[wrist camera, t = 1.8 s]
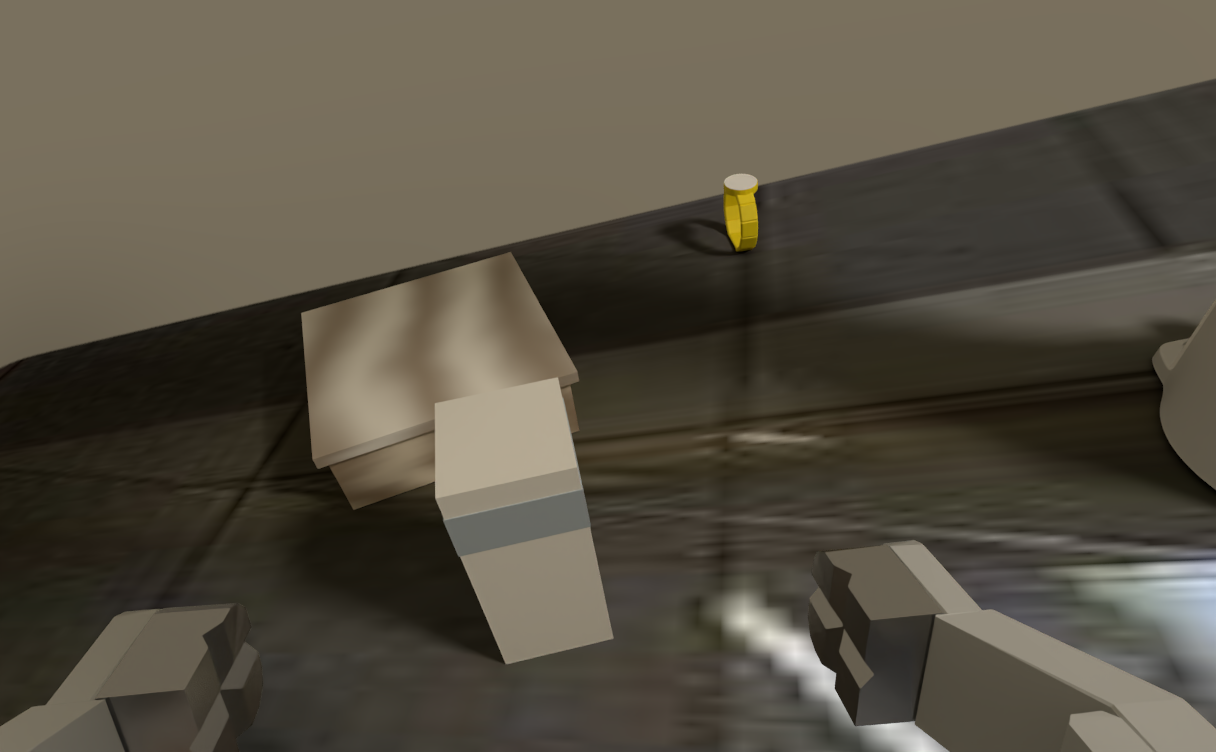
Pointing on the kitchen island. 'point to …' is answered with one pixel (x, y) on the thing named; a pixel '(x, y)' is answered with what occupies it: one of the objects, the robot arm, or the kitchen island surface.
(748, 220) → the watch
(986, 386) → the kitchen island surface
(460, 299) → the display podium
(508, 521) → the carton
